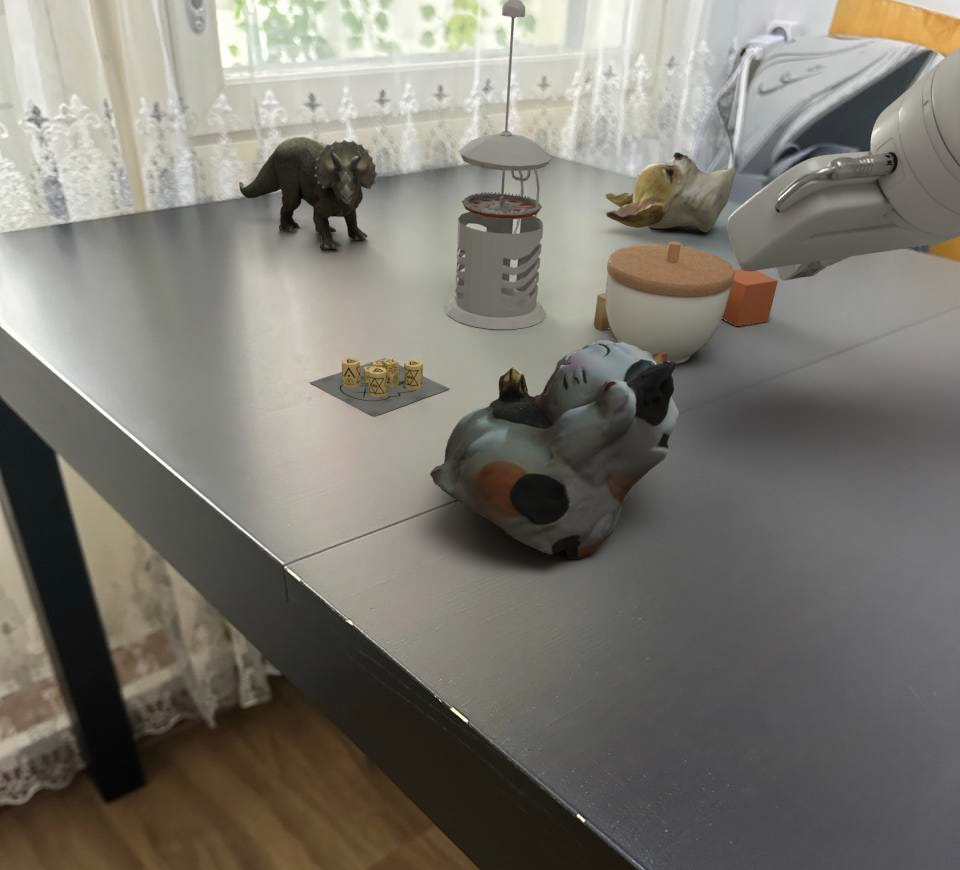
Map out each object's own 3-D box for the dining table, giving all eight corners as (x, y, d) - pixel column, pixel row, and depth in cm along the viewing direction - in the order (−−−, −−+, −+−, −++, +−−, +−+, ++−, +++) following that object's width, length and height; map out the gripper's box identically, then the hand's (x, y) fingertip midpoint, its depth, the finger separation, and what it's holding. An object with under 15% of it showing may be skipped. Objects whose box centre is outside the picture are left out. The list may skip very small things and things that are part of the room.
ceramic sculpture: (744, 162, 107) (610, 161, 108) (732, 243, 112) (604, 241, 113) (733, 143, 115) (608, 142, 116) (722, 219, 120) (603, 218, 122)
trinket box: (598, 324, 90) (611, 220, 84) (712, 335, 89) (733, 230, 83) (595, 369, 82) (610, 256, 76) (721, 381, 81) (745, 268, 75)
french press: (426, 315, 89) (431, -4, 74) (479, 281, 98) (493, -12, 82) (521, 337, 86) (548, 9, 71) (568, 300, 95) (600, -1, 79)
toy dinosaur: (234, 219, 111) (222, 110, 104) (295, 208, 115) (288, 104, 108) (346, 270, 98) (341, 150, 91) (409, 256, 103) (409, 141, 96)
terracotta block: (740, 308, 95) (750, 267, 93) (768, 321, 93) (778, 280, 90) (710, 313, 94) (718, 272, 91) (736, 327, 91) (746, 285, 89)
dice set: (426, 386, 77) (426, 363, 76) (378, 404, 74) (377, 380, 73) (385, 367, 80) (385, 344, 78) (337, 382, 77) (336, 359, 76)
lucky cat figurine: (462, 448, 69) (567, 272, 63) (600, 541, 69) (718, 373, 63) (396, 490, 55) (522, 270, 49) (569, 606, 55) (715, 399, 49)
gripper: (837, 218, 53) (693, 329, 66) (1069, 189, 61) (901, 293, 74) (802, 112, 53) (665, 243, 66) (1037, 97, 61) (876, 216, 74)
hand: (792, 269), depth 70 cm, fingers closed
